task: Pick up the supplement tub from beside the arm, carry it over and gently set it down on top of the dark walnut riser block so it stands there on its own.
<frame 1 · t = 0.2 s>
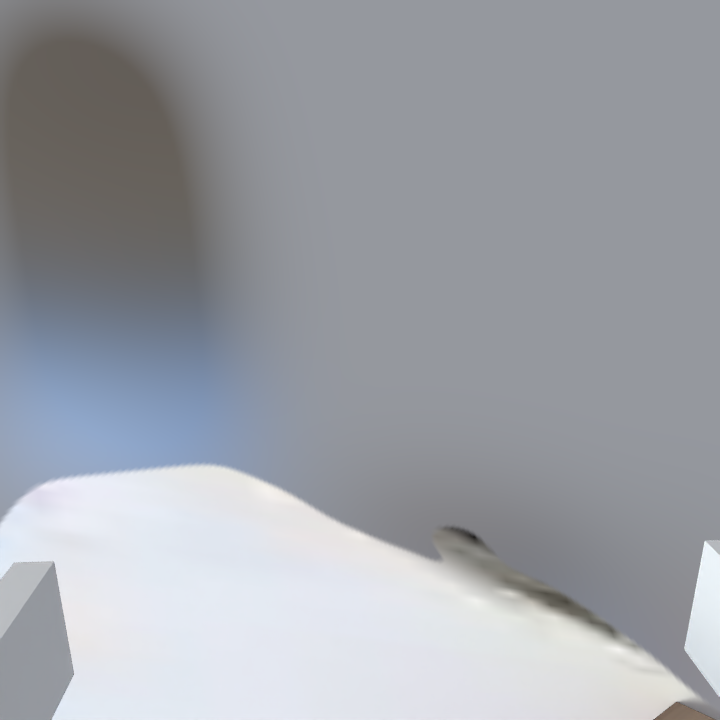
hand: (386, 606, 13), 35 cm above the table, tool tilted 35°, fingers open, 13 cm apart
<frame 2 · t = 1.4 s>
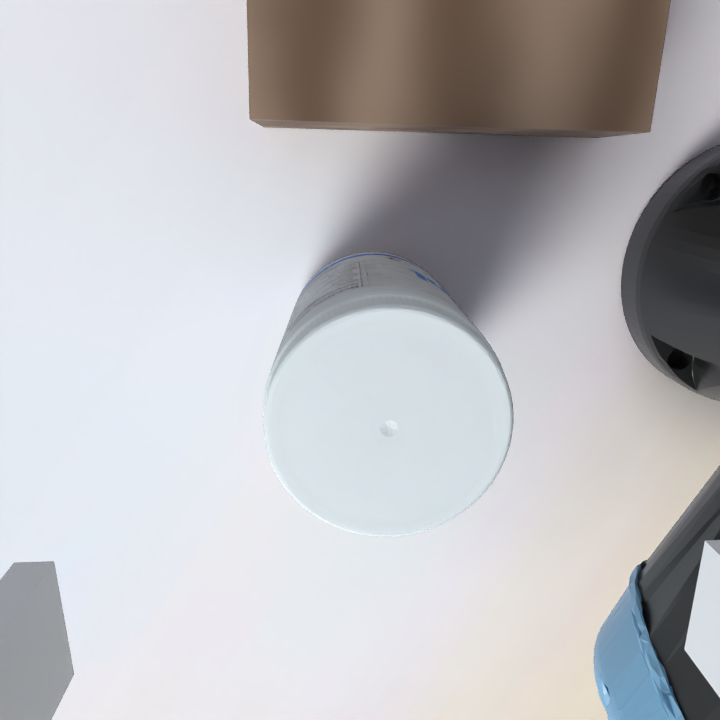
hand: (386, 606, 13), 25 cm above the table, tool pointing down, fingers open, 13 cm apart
supplement tub: (369, 328, 37), on the table
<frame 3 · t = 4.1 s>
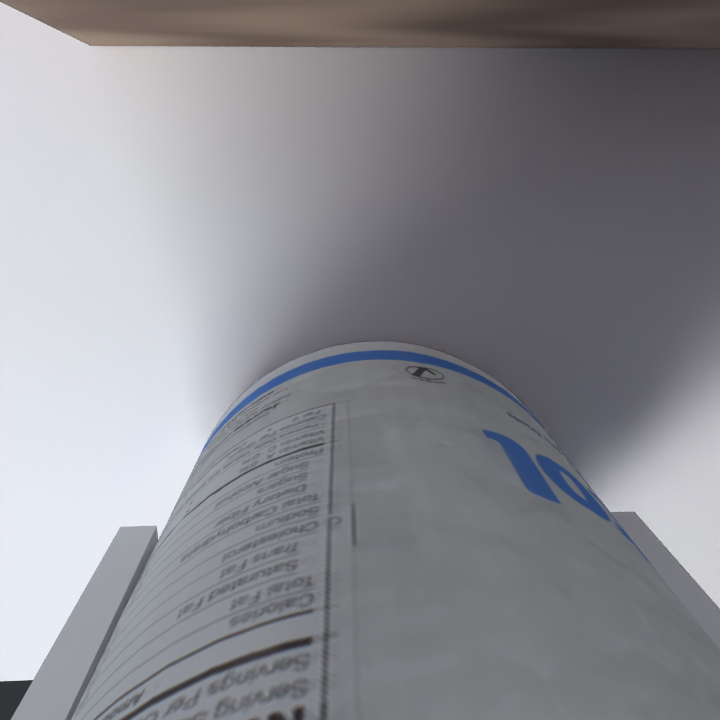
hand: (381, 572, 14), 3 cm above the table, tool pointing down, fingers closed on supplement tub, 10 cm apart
supplement tub: (370, 495, 17), on the table, touching gripper
when the fingers open (10 cm above the table, at t = 12.8 s): supplement tub stays where it is, resting on walnut riser.
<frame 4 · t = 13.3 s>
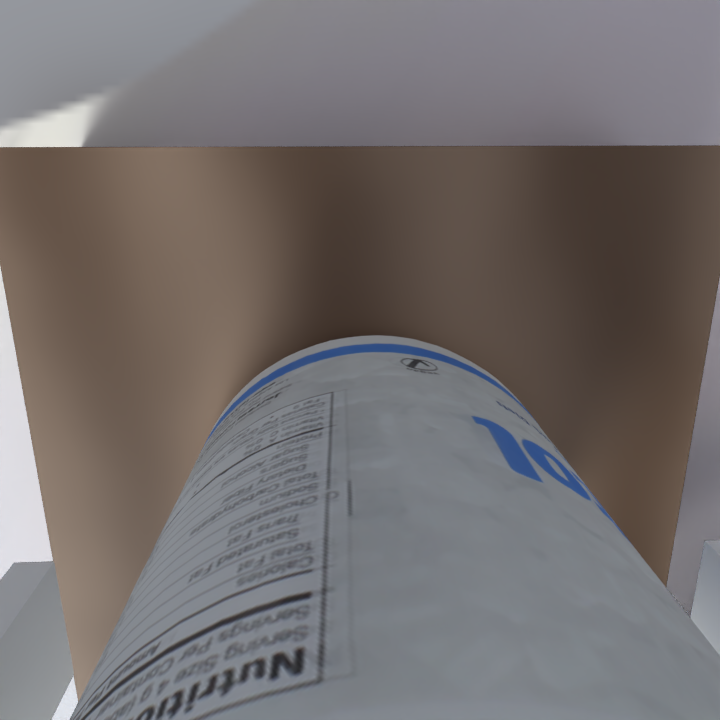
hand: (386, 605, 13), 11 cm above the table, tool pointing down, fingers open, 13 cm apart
supplement tub: (368, 484, 18), point 6 cm above the table, touching walnut riser
walnut riser: (360, 406, 23), on the table
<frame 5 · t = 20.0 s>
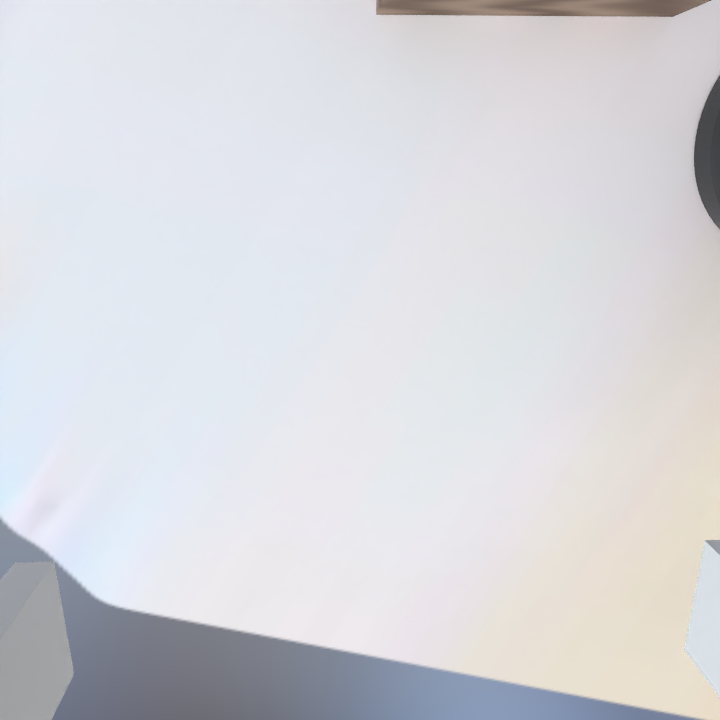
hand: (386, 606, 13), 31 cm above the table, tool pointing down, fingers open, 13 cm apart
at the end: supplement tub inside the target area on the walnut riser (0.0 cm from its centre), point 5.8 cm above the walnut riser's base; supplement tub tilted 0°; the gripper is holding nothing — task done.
